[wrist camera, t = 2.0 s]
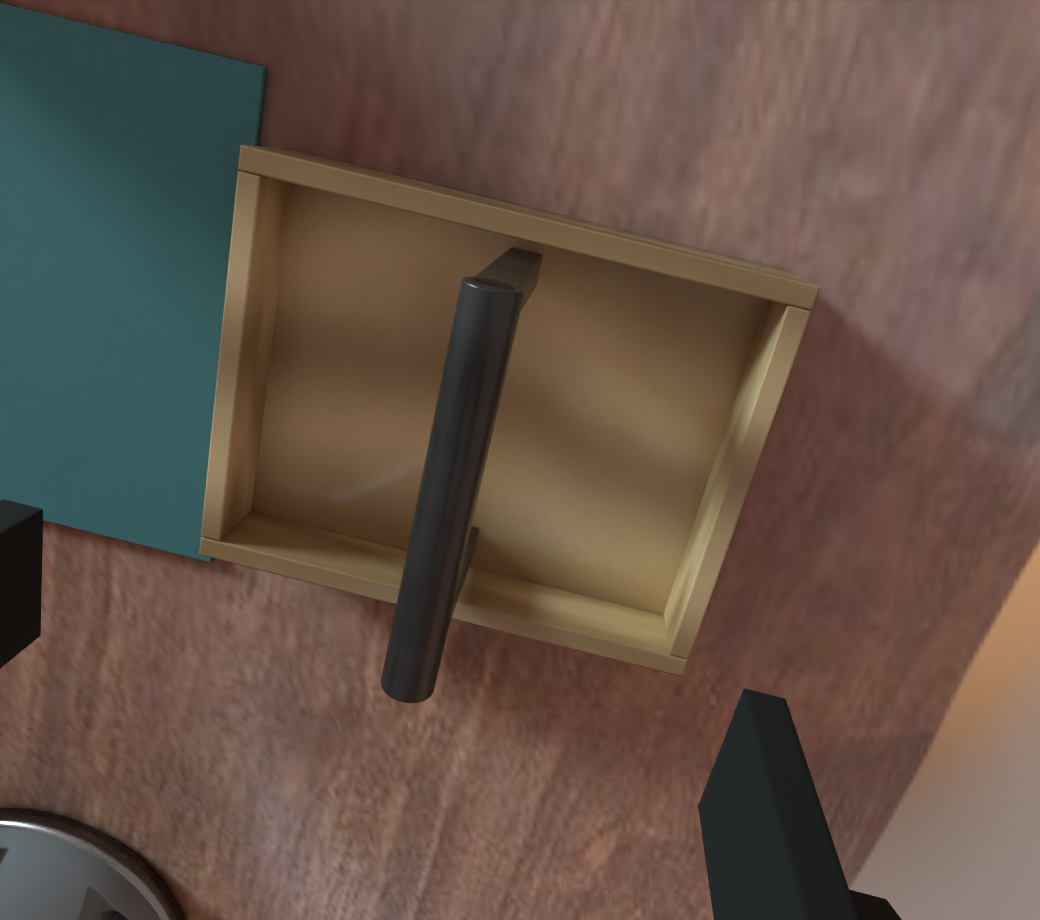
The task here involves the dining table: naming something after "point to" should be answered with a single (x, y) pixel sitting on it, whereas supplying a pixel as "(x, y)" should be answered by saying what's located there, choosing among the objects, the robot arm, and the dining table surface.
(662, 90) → the dining table surface
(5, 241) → the mat
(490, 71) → the dining table surface
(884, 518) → the dining table surface
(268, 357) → the tray
